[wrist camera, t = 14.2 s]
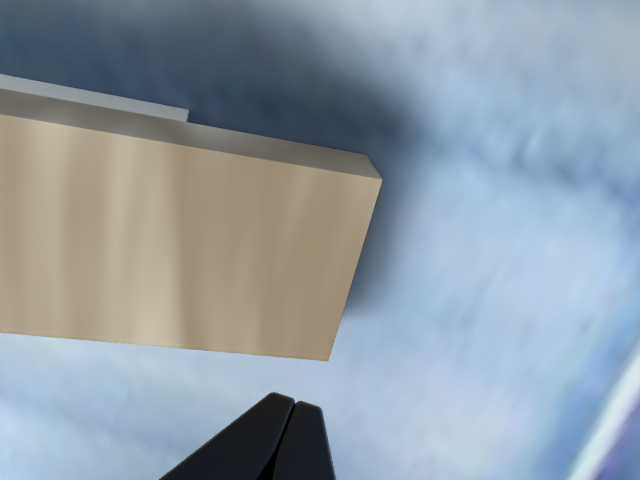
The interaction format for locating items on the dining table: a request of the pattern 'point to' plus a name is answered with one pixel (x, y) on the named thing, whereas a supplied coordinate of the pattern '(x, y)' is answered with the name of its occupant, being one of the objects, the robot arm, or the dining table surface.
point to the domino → (174, 231)
